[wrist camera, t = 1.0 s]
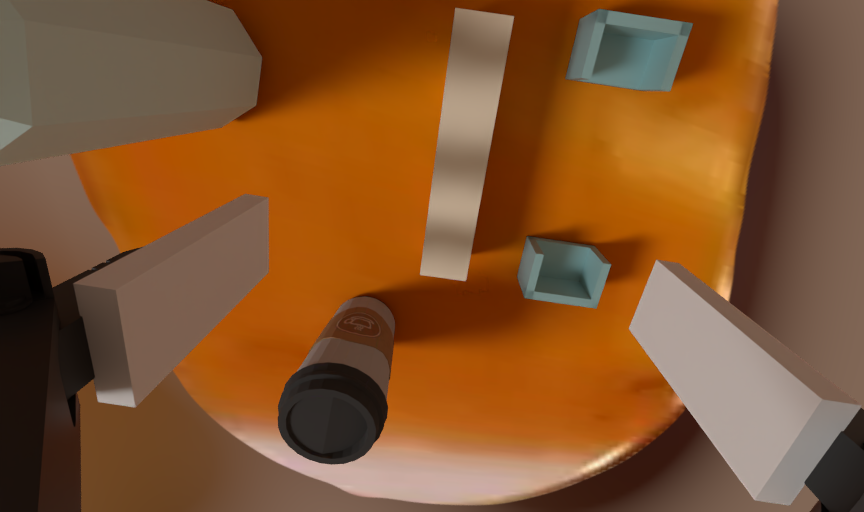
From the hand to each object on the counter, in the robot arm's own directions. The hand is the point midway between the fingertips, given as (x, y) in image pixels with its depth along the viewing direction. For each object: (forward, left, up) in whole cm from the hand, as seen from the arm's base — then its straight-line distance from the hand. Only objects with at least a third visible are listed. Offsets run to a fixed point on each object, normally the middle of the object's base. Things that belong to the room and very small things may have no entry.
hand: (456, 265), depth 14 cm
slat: (0, +1, -25) cm, 25 cm away
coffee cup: (+19, -6, -25) cm, 32 cm away
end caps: (0, +12, -25) cm, 27 cm away
